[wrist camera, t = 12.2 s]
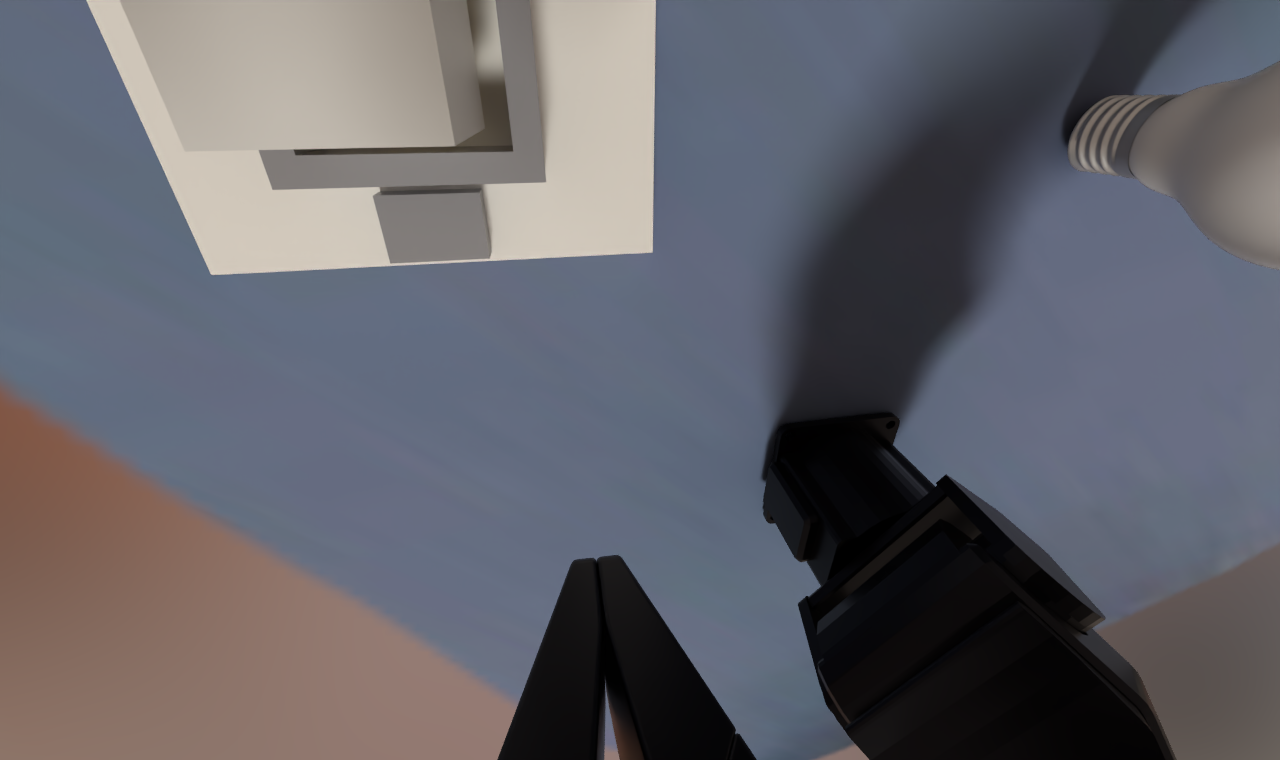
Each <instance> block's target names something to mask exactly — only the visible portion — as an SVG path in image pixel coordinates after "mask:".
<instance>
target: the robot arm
mask: <svg viewBox="0 0 1280 760" xmlns="http://www.w3.org/2000/svg"><path fill="white" fill-rule="evenodd" d="M888 422H889V423H888ZM899 423H900V420H899V418H898V417H896V416H895V415H894V414H893V413H889V412H888V413H879V414H870V415H861V416H852V417H843V418H834V419H825V420H816V421H807V422H798V423H789V424H785V425H783V426H781V427H780V428H779V430H778V432H777V437H776V443H775V448H774V454H773V460H772V463H771V464H770V466H769V469H768V475H767V481H766V487H765V492H764V498H763V502H764V504H765V506H764V512H763V515H764V517H765V519H766V521H767V522H768V523H776V525H777V527H778V529H779V530H780V532H781V534H782V536H783V538H784V539H785V541H786V543H787V545H788V547H789V548H790V550H791V552H792V554H793V555H794V557H795V558H796V559H797V560H798V561H799V562H805V561H807V563H808V565H809V566H810V568H811V570H812V571H813V573H814V575H815V577H816V578H817V580H818V582H819V584H820V585H821V587H820V588H819V589H817V590H816V591H815V592H814V593H813V594H812V595H811V596H809V597H808V596H806V597H805V598H804V599H803V600H801V601H800V602H799V603H798V607H799V611H800V614H801V618H802V622H803V625H804V629H805V633H806V636H807V640H808V644H809V647H810V651H811V655H812V658H813V662H814V666H815V669H816V673H817V677H818V680H819V684H820V687H821V690H822V692H823V696H824V700H825V703H826V705H827V707H828V708H829V709H830V711H831V712H832V713H833V714H834V716H835V717H836V719H837V720H838V722H839V723H840V725H841V726H842V727H843V729H844V730H845V731H846V733H847V735H848V736H849V737H850V738H851V740H852V741H853V742H854V743H855V744H856V745H857V746H858V747H859V748H860V750H861V751H862V752H863V753H864V754H865V755H866V756H867V757H868V758H869V760H1177V759H1176V757H1175V754H1174V752H1173V750H1172V748H1171V745H1170V743H1169V741H1168V738H1167V736H1166V734H1165V732H1164V729H1163V727H1162V725H1161V722H1160V720H1159V718H1158V715H1157V713H1156V711H1155V709H1154V706H1153V704H1152V702H1151V699H1150V697H1149V695H1148V693H1147V690H1146V688H1145V686H1144V683H1143V681H1142V679H1141V677H1140V675H1139V674H1138V672H1137V671H1136V670H1135V669H1134V667H1133V666H1132V665H1131V664H1130V663H1129V662H1127V660H1125V659H1124V658H1123V657H1122V656H1121V655H1120V654H1119V653H1118V652H1117V651H1116V650H1115V649H1114V648H1113V647H1111V646H1110V645H1109V644H1108V643H1107V642H1106V641H1105V640H1104V639H1103V638H1102V637H1101V636H1099V634H1097V633H1096V632H1095V631H1094V630H1093V629H1092V628H1093V627H1094V626H1096V625H1097V624H1099V623H1100V622H1102V621H1103V620H1105V616H1104V615H1103V614H1102V613H1101V611H1100V610H1099V609H1098V608H1097V607H1096V606H1095V605H1094V604H1093V603H1092V602H1091V601H1090V599H1089V598H1088V597H1087V596H1086V595H1085V594H1084V593H1083V592H1082V591H1081V590H1080V589H1079V587H1078V586H1077V585H1076V584H1075V583H1074V582H1073V581H1072V580H1071V579H1070V578H1069V576H1068V575H1067V574H1066V573H1065V572H1064V571H1063V570H1062V569H1061V568H1060V567H1059V566H1058V564H1057V563H1056V562H1055V561H1054V560H1053V559H1052V558H1051V557H1050V556H1049V555H1048V554H1047V553H1046V552H1045V551H1044V550H1043V549H1042V548H1041V547H1040V546H1038V545H1037V544H1036V543H1035V542H1034V541H1033V540H1031V539H1030V538H1029V537H1028V536H1027V535H1026V534H1025V533H1023V532H1022V531H1021V530H1020V529H1019V528H1018V527H1016V526H1015V525H1014V524H1013V523H1012V522H1011V521H1009V520H1008V519H1007V518H1006V517H1005V516H1004V515H1003V514H1001V513H1000V512H999V511H998V510H996V509H995V508H993V507H992V506H990V505H989V504H988V503H986V502H985V501H983V500H982V499H981V498H979V497H978V496H976V495H975V494H973V493H972V492H971V491H969V490H968V489H966V488H965V487H964V486H962V485H961V484H959V483H958V482H956V481H955V480H954V479H952V478H951V477H949V476H948V475H945V476H944V477H942V478H941V479H940V480H939V481H938V482H937V483H936V484H937V486H936V487H935V486H934V485H933V484H932V483H931V482H930V481H929V480H928V479H927V478H926V477H925V476H924V475H923V474H922V473H921V472H920V471H919V470H918V469H917V468H916V467H915V466H914V465H913V464H912V463H911V462H910V461H909V460H908V459H907V458H905V457H904V456H903V455H902V454H901V453H900V452H899V451H898V450H897V449H896V448H895V447H894V446H893V442H894V439H895V436H896V433H897V430H898V427H899ZM790 432H791V433H790ZM788 433H790V434H789V435H787V434H788ZM786 435H787V436H786ZM605 682H606V691H607V697H608V703H609V708H610V713H611V718H612V724H613V729H614V734H615V739H616V744H617V749H618V754H619V758H620V760H756V758H755V757H754V755H753V754H752V752H751V751H750V749H749V748H748V746H747V745H746V743H745V742H744V740H743V739H742V737H741V736H740V734H738V733H737V734H735V732H736V729H735V727H734V725H733V724H732V722H731V721H730V719H729V718H728V716H727V715H726V713H725V712H724V710H723V709H722V707H721V706H720V704H719V703H718V701H717V700H716V698H715V697H714V695H713V694H712V692H711V691H710V689H709V688H708V686H707V685H706V683H705V682H704V680H703V679H702V677H701V676H700V674H699V673H698V671H697V670H696V668H695V667H694V665H693V664H692V662H691V661H690V659H689V658H688V656H687V655H686V653H685V652H684V650H683V649H682V647H681V646H680V644H679V643H678V641H677V640H676V638H675V637H674V635H673V634H672V632H671V631H670V629H669V628H668V626H667V625H666V623H665V622H664V620H663V619H662V617H661V616H660V614H659V613H658V611H657V610H656V608H655V607H654V605H653V604H652V602H651V601H650V599H649V598H648V596H647V595H646V593H645V592H644V590H643V589H642V587H641V586H640V584H639V583H638V581H637V580H636V578H635V577H634V575H633V574H632V572H631V571H630V569H629V568H628V566H627V565H626V563H625V562H624V560H623V559H622V558H621V557H620V556H619V555H612V556H603V557H599V558H598V559H597V562H596V560H595V559H594V558H586V559H577V560H574V561H573V562H572V564H571V566H570V568H569V571H568V574H567V576H566V579H565V582H564V584H563V587H562V590H561V592H560V595H559V598H558V600H557V603H556V605H555V608H554V611H553V613H552V616H551V619H550V621H549V624H548V627H547V629H546V632H545V635H544V637H543V640H542V643H541V645H540V648H539V651H538V653H537V656H536V659H535V661H534V664H533V667H532V669H531V672H530V675H529V677H528V680H527V683H526V685H525V688H524V691H523V693H522V696H521V698H520V701H519V704H518V706H517V709H516V712H515V715H514V717H513V720H512V723H511V725H510V728H509V731H508V733H507V736H506V738H505V741H504V744H503V746H502V749H501V752H500V754H499V757H498V760H604V746H605Z"/></svg>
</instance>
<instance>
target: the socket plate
mask: <svg viewBox="0 0 1280 760" xmlns="http://www.w3.org/2000/svg"><path fill="white" fill-rule="evenodd" d="M466 1H467V8H468V14H469V21H470V28H471V35H472V42H473V49H474V55H475V62H476V69H477V76H478V83H479V90H480V97H481V103H482V110H483V117H484V124H485V129H483V130H481V131H480V132H478V133H476V134H475V135H473V136H471V137H470V138H468V139H466V140H465V141H463V142H461V143H460V144H458V145H456V146H442V147H391V148H340V149H289V150H238V151H188V152H185V151H184V148H183V146H182V144H181V141H180V139H179V137H178V134H177V132H176V130H175V128H174V125H173V123H172V121H171V118H170V116H169V114H168V111H167V109H166V107H165V104H164V102H163V100H162V97H161V95H160V93H159V90H158V88H157V86H156V83H155V81H154V79H153V76H152V74H151V72H150V70H149V67H148V65H147V63H146V60H145V58H144V56H143V53H142V51H141V49H140V46H139V44H138V42H137V39H136V37H135V35H134V32H133V30H132V28H131V25H130V23H129V21H128V18H127V16H126V14H125V11H124V9H123V7H122V5H121V2H120V0H87V3H88V5H89V7H90V9H91V11H92V14H93V16H94V18H95V20H96V22H97V25H98V27H99V29H100V31H101V33H102V36H103V38H104V40H105V42H106V44H107V47H108V49H109V51H110V53H111V55H112V58H113V60H114V62H115V64H116V66H117V69H118V71H119V73H120V75H121V77H122V80H123V82H124V84H125V86H126V88H127V91H128V93H129V95H130V97H131V99H132V102H133V104H134V106H135V108H136V110H137V113H138V115H139V117H140V119H141V121H142V124H143V126H144V128H145V130H146V132H147V135H148V137H149V139H150V141H151V143H152V146H153V148H154V150H155V152H156V154H157V156H158V159H159V161H160V163H161V165H162V167H163V170H164V172H165V174H166V176H167V178H168V181H169V183H170V185H171V187H172V189H173V192H174V194H175V196H176V198H177V200H178V203H179V205H180V207H181V209H182V211H183V214H184V216H185V218H186V220H187V222H188V225H189V227H190V229H191V231H192V233H193V236H194V238H195V240H196V242H197V244H198V247H199V249H200V251H201V253H202V255H203V258H204V260H205V262H206V264H207V266H208V269H209V271H210V273H211V275H222V274H241V273H261V272H280V271H300V270H320V269H339V268H359V267H378V266H398V265H417V264H437V263H456V262H476V261H495V260H515V259H535V258H554V257H574V256H593V255H613V254H632V253H652V252H653V177H654V96H655V15H656V0H466Z"/></svg>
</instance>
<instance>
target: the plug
mask: <svg viewBox="0 0 1280 760" xmlns="http://www.w3.org/2000/svg"><path fill="white" fill-rule="evenodd" d="M120 2H121V5H122V7H123V9H124V11H125V14H126V16H127V18H128V21H129V23H130V25H131V28H132V30H133V32H134V35H135V37H136V39H137V42H138V44H139V46H140V49H141V51H142V53H143V56H144V58H145V60H146V63H147V65H148V67H149V70H150V72H151V74H152V76H153V79H154V81H155V83H156V86H157V88H158V90H159V93H160V95H161V97H162V100H163V102H164V104H165V107H166V109H167V111H168V114H169V116H170V118H171V121H172V123H173V125H174V128H175V130H176V132H177V134H178V137H179V139H180V141H181V144H182V146H183V148H184V151H185V152H188V151H238V150H289V149H340V148H391V147H442V146H456V145H458V144H460V143H461V142H463V141H465V140H466V139H468V138H470V137H471V136H473V135H475V134H476V133H478V132H480V131H481V130H483V129H485V124H484V117H483V110H482V103H481V97H480V90H479V83H478V76H477V69H476V62H475V55H474V49H473V42H472V35H471V28H470V21H469V14H468V8H467V1H466V0H120Z"/></svg>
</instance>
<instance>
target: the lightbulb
mask: <svg viewBox="0 0 1280 760" xmlns="http://www.w3.org/2000/svg"><path fill="white" fill-rule="evenodd" d="M1067 153H1068V160H1069V162H1070V164H1071V166H1072V167H1073V168H1075V169H1076V170H1078V171H1082V172H1091V173H1100V174H1105V175H1108V174H1110V175H1113V176H1122V177H1126V178H1133V179H1137V180H1138V181H1139V182H1140V183H1142V184H1143V185H1144V186H1146V187H1147V188H1149V189H1151V190H1153V191H1156V192H1158V193H1161V194H1164V195H1166V196H1169V197H1171V198H1173V199H1175V200H1176V201H1177V202H1179V203H1180V205H1181V206H1182V207H1183V208H1184V210H1185V211H1186V213H1187V214H1188V216H1189V217H1190V219H1191V220H1192V221H1193V223H1194V224H1195V225H1196V226H1197V228H1198V229H1199V230H1200V231H1201V232H1202V233H1203V234H1204V235H1205V236H1206V237H1207V238H1208V239H1209V240H1210V241H1211V242H1213V243H1214V244H1215V245H1217V246H1218V247H1219V248H1221V249H1223V250H1224V251H1226V252H1228V253H1229V254H1231V255H1233V256H1235V257H1238V258H1240V259H1242V260H1245V261H1247V262H1250V263H1253V264H1256V265H1259V266H1263V267H1267V268H1271V269H1276V270H1280V61H1278V62H1276V63H1274V64H1272V65H1271V66H1269V67H1267V68H1265V69H1263V70H1261V71H1259V72H1257V73H1254V74H1252V75H1250V76H1247V77H1244V78H1240V79H1236V80H1231V81H1226V82H1220V83H1215V84H1210V85H1206V86H1203V87H1199V88H1196V89H1193V90H1191V91H1188V92H1186V93H1183V94H1175V95H1156V96H1154V95H1144V96H1142V95H1131V96H1130V95H1112V96H1109V97H1106V98H1104V99H1102V100H1100V101H1098V102H1097V103H1095V104H1094V105H1093V106H1092V107H1091V108H1089V109H1088V110H1087V111H1086V112H1085V113H1084V115H1083V116H1082V117H1081V118H1080V120H1079V121H1078V122H1077V124H1076V126H1075V127H1074V129H1073V131H1072V134H1071V136H1070V139H1069V143H1068V149H1067Z"/></svg>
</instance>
